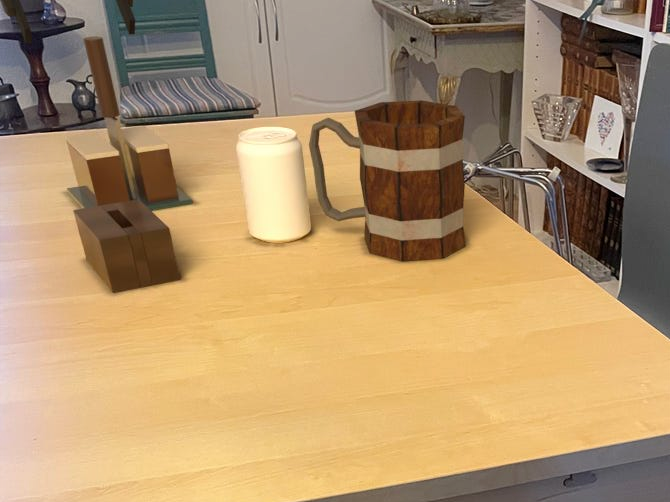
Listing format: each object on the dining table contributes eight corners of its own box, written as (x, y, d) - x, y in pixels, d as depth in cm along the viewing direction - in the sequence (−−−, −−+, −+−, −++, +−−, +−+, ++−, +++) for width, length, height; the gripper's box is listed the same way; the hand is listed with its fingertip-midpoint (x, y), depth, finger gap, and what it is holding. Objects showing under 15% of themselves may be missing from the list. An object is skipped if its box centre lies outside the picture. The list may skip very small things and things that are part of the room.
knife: (114, 189, 136) (77, 35, 123) (131, 186, 137) (96, 33, 124) (126, 200, 132) (89, 42, 119) (143, 197, 133) (108, 41, 120)
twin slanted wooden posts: (67, 192, 136) (52, 134, 131) (162, 178, 142) (151, 122, 137) (92, 220, 127) (77, 159, 122) (192, 203, 133) (181, 144, 128)
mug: (475, 228, 126) (475, 102, 116) (455, 265, 116) (453, 131, 106) (334, 219, 128) (322, 95, 118) (303, 254, 118) (287, 122, 108)
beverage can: (237, 233, 124) (221, 133, 116) (289, 219, 128) (276, 122, 120) (271, 250, 119) (257, 147, 111) (323, 235, 124) (313, 135, 115)
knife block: (86, 260, 116) (72, 209, 112) (150, 248, 119) (139, 199, 115) (113, 293, 109) (99, 240, 105) (180, 279, 112) (169, 227, 108)
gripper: (115, -99, 133) (171, 42, 133) (-75, -93, 123) (-15, 60, 124) (116, -147, 126) (174, 3, 126) (-86, -144, 116) (-22, 18, 117)
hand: (81, 32), depth 125 cm, fingers open, 13 cm apart
